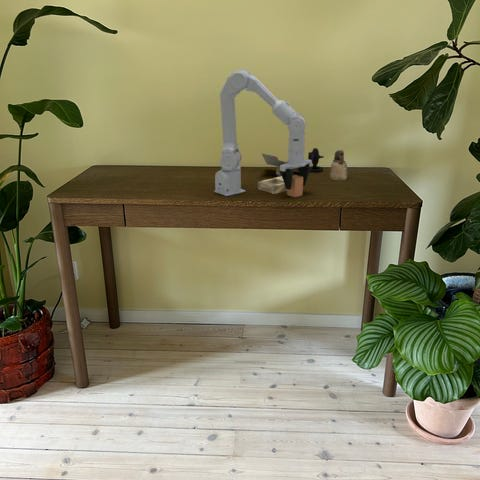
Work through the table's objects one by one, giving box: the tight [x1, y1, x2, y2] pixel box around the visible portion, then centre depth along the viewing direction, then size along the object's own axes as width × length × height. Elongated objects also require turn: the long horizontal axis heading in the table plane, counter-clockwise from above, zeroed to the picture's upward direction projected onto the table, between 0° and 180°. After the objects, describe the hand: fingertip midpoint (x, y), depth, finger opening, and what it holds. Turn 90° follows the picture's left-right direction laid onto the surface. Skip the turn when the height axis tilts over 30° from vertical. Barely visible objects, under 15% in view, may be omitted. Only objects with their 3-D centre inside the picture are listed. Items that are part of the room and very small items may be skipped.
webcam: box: [307, 147, 325, 173], centre depth 214 cm, size 8×8×10 cm
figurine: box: [329, 149, 348, 182], centre depth 200 cm, size 7×7×12 cm
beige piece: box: [257, 176, 287, 195], centre depth 189 cm, size 14×9×3 cm, turn 130°
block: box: [286, 174, 304, 198], centre depth 179 cm, size 4×4×7 cm
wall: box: [261, 153, 299, 177], centre depth 206 cm, size 19×10×17 cm
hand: (295, 187), depth 179 cm, fingers open, 7 cm apart
